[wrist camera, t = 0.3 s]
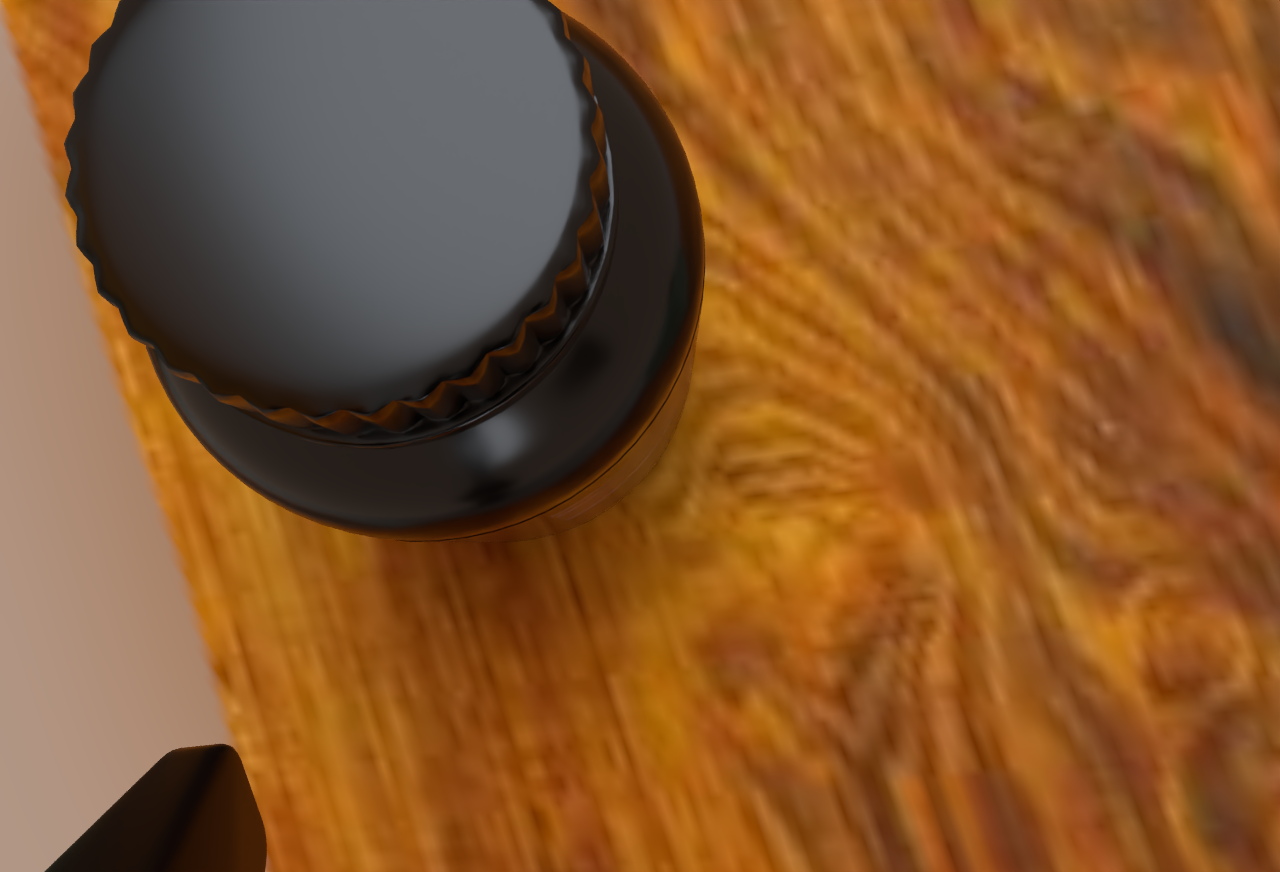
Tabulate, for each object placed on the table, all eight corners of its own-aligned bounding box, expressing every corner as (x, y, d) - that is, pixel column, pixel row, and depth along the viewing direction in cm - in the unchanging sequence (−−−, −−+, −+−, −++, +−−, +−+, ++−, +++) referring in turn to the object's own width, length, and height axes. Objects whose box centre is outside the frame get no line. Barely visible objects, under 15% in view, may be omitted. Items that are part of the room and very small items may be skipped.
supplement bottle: (625, 135, 23) (600, -319, 11) (737, 477, 22) (847, 402, 10) (279, 245, 22) (-142, -92, 10) (383, 591, 22) (64, 654, 10)
